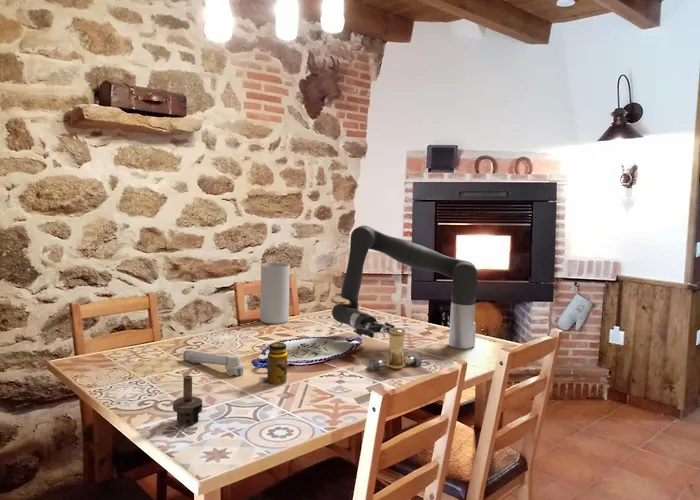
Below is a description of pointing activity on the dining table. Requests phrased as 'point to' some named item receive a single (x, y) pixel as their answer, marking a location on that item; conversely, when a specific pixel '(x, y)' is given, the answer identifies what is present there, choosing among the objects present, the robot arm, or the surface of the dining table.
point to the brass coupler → (396, 348)
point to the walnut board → (386, 372)
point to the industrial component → (187, 404)
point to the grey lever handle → (216, 360)
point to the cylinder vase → (274, 293)
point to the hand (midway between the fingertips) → (383, 334)
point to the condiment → (276, 366)
